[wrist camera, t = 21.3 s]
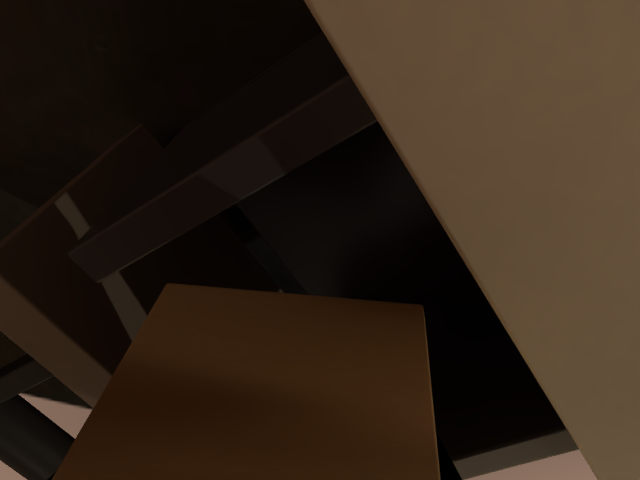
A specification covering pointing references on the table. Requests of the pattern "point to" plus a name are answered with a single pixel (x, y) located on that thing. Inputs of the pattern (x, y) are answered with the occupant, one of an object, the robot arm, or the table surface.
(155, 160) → the pull-out drawer box
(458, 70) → the beige drawer cabinet
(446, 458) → the robot arm
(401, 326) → the block
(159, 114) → the table surface
